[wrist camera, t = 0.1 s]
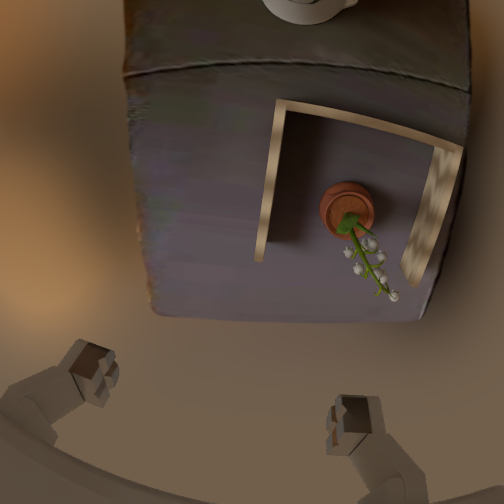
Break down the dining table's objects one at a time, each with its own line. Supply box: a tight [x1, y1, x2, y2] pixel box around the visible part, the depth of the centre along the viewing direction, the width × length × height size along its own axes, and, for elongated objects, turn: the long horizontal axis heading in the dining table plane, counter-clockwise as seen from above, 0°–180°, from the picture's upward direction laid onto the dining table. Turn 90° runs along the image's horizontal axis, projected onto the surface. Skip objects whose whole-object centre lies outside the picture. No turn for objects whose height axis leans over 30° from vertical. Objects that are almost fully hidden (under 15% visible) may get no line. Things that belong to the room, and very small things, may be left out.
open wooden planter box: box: [254, 99, 463, 287], centre depth 50 cm, size 27×31×8 cm
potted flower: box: [319, 182, 400, 302], centre depth 44 cm, size 12×10×25 cm
